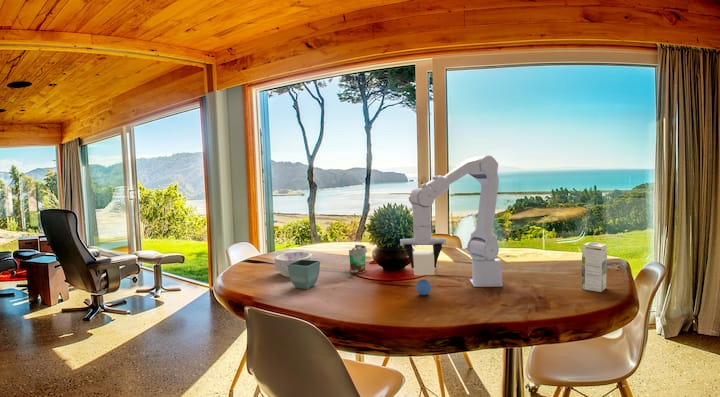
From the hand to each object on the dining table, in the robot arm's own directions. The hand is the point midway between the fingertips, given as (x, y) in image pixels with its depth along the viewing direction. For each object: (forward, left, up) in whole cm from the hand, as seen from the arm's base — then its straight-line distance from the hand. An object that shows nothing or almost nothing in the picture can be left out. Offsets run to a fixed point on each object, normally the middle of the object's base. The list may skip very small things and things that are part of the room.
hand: (423, 267), depth 122 cm
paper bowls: (+51, -28, -9) cm, 59 cm away
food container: (+24, -31, -9) cm, 40 cm away
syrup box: (-54, -4, -9) cm, 55 cm away
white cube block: (0, 0, -2) cm, 2 cm away
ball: (0, +1, -6) cm, 6 cm away
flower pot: (+42, -10, -9) cm, 44 cm away
